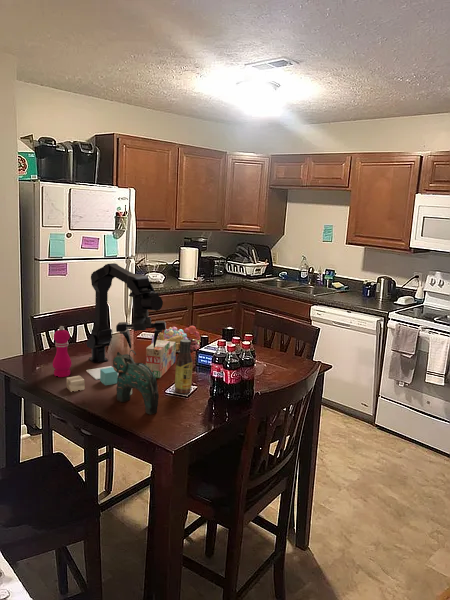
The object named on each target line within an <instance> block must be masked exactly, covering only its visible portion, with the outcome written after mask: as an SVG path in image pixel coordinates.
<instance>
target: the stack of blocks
mask: <svg viewBox="0 0 450 600" xmlns="http://www.w3.org/2000/svg"><path fill="white" fill-rule="evenodd" d="M175 348H176V342H171V341H163V340H157V341H156V345H155V348H154V342H153V343H152V344H150V345H148V346H147V347H146V348H145V365H146V366H148V367H149V368H150V370H151V371H152V372H153V374H154V376H155V378H156V379H161V377H162V376H163V375H164V374H166V372H168V370H169V369H170V368H171V367H172V366H173V365H174V364H175V363H176V358H177V356H176V353H177V352H176V349H175Z"/></svg>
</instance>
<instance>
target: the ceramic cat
mask: <svg viewBox="0 0 450 600" xmlns="http://www.w3.org/2000/svg"><path fill="white" fill-rule="evenodd" d="M131 352H132V353H133V354H134V355H135V356H136V355H137V354H136V351H134V350H133V349H130V350H129V353H126V354H125V353H124V354H122V353H120V352H119V351H117V353H116V356H115V357H114V358H113V360H112V361H113V362H112V363H113V364H112V367H113V368H114V370H115V371H116V372H117V373H118V378H117V383H116V401H118V402H120V403H125V402H128V401H130V400H131V395H130V392H131V389H132V390H133V389H136V390H137V391H138V392H140V394H141V395H142V399H143V404H144V410H145V413H146V414H147V415H149V416H150V415H154V414H156V413H158V406H159V400H160V399H159V397H160V394H159V388H158V382H157V378H155V376H154V374H153V372H152V371H151V370H150V368H149V367H148V366H146V363H142V362H135V360H134V359H133V357H132V356H131Z"/></svg>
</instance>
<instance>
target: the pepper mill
mask: <svg viewBox="0 0 450 600" xmlns="http://www.w3.org/2000/svg"><path fill="white" fill-rule="evenodd" d="M70 338H71V337H70V332H69V331H67V330H66V329H65V326H63V325H60V326H59V327H58V330H56V331H55V332H54V333H53V340H54V341H55V342H54V345H55V347H56V353H55V356H54V358H53V360H52V367H53V369H54V370H53V376H54V377H56V376H58V378H65V377H66V378H67V377H69V376H70V375H71V369H70V368H71V367H72V360H71V357H70V355H69V352H68V346H69V340H70Z"/></svg>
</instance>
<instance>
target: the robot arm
mask: <svg viewBox="0 0 450 600" xmlns="http://www.w3.org/2000/svg"><path fill="white" fill-rule="evenodd" d="M115 278H116V279H118V280H119V281H121V282H123V283H125V284H126V288H127V289H129V290H130V291H131V292H130V293H129V294H128V296H129V297H132V298H131V299H132V314H133V315H132V323H130V324H129V322H128V321H124V322H123V321H121V322H118V323H117V324H116V327H115V329H116V330H115V331H116V332H117V333H119V334H120V335H123V336H124V338H125V340H126V342H127V344H128V347H129V349H130V350H132V341H131V340H132V339H131V333H130V332H131V331H130V330H133V331H134V332H137V331H142V332H143V331H144V332H145V331H146V330H147V329H154V333H153V336H154V348H155V345H156V341H157V337H158V336H159V333H162V332H163V331H165V330H166V329H167V323H166V320H155V322H153V323H152V318H151V316H149V311H157V312H158V311H160V310H161V309H162V307H163V305H164V304H163V303H164V302H163V299H162V297H161V296H160V295H159V293H158V292H157V291H156V290H155V289H154V287H153V285H152V283H151V280H149V277H148V276H147V275H144V274H138V273H133V272H131V271H129V270H127V269H125V268H123V267H122V266H120V265H119V264H118V263H116V262H114V263H107V264H104V266H102V267H100V268H98V269H96V270H94V271H93V272H91V275H90V280H91V287H92V288H93V289H94V292H95V303H94V304H95V305H94V306H95V312H94V315H95V316H94V317H95V318H94V319H95V322H94V326H93V327H92V329H91V332H90V337H89V338H88V340H87V341H86V342H85V343H86V347H87V348H89V349H91V356H90V357H88V359H89V360H90V361H91V362H92V363H94V364H97V363H103V362H108V361H109V359H108V358H106V347H109V346H111V342H112V339H113V330H112V328H110V326H109V325H108V297H109V294H108V292H109V291H110V288H111V287H112V285H113V284H112V283H113V279H115ZM155 291H156V292H155Z"/></svg>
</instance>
